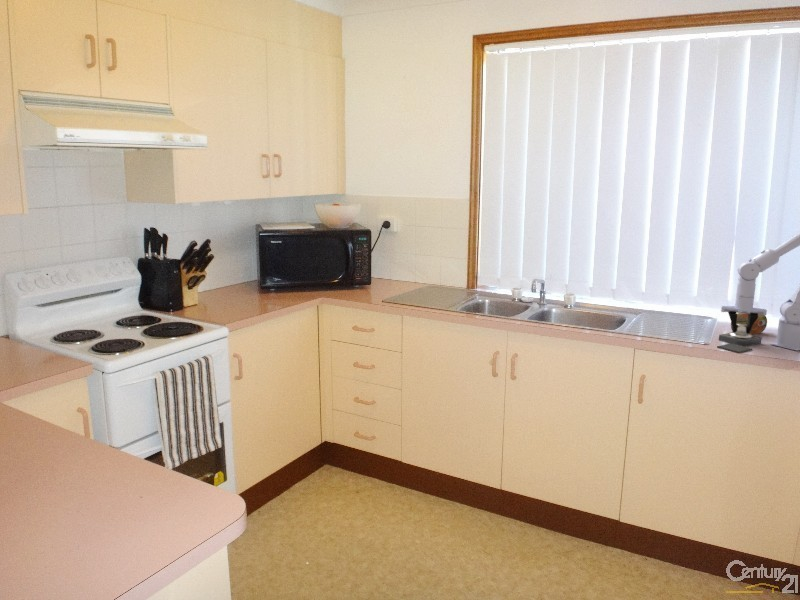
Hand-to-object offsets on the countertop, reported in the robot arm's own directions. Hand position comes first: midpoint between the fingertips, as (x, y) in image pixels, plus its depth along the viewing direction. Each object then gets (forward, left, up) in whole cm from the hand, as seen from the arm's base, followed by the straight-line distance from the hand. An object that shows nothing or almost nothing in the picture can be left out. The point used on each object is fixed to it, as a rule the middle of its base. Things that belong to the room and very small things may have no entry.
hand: (740, 332), depth 236 cm
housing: (0, 0, -3) cm, 3 cm away
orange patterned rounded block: (+6, -14, -4) cm, 16 cm away
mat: (-5, +11, -3) cm, 13 cm away
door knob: (0, 0, -3) cm, 3 cm away
